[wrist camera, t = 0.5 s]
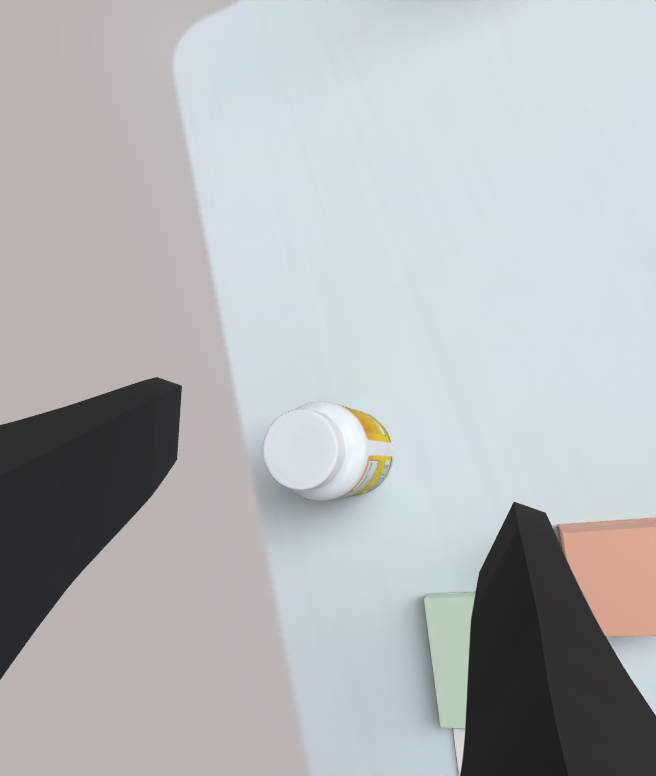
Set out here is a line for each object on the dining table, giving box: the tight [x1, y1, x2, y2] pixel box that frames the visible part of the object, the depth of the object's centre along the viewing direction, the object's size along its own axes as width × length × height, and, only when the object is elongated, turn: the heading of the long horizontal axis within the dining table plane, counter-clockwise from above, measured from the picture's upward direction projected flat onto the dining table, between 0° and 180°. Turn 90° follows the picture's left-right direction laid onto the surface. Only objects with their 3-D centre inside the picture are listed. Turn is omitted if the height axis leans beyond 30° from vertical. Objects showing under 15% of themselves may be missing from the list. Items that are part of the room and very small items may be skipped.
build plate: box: [424, 592, 476, 728], centre depth 32 cm, size 7×7×1 cm
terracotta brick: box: [558, 518, 656, 636], centre depth 29 cm, size 5×5×4 cm
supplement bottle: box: [263, 401, 394, 501], centre depth 32 cm, size 5×5×10 cm
